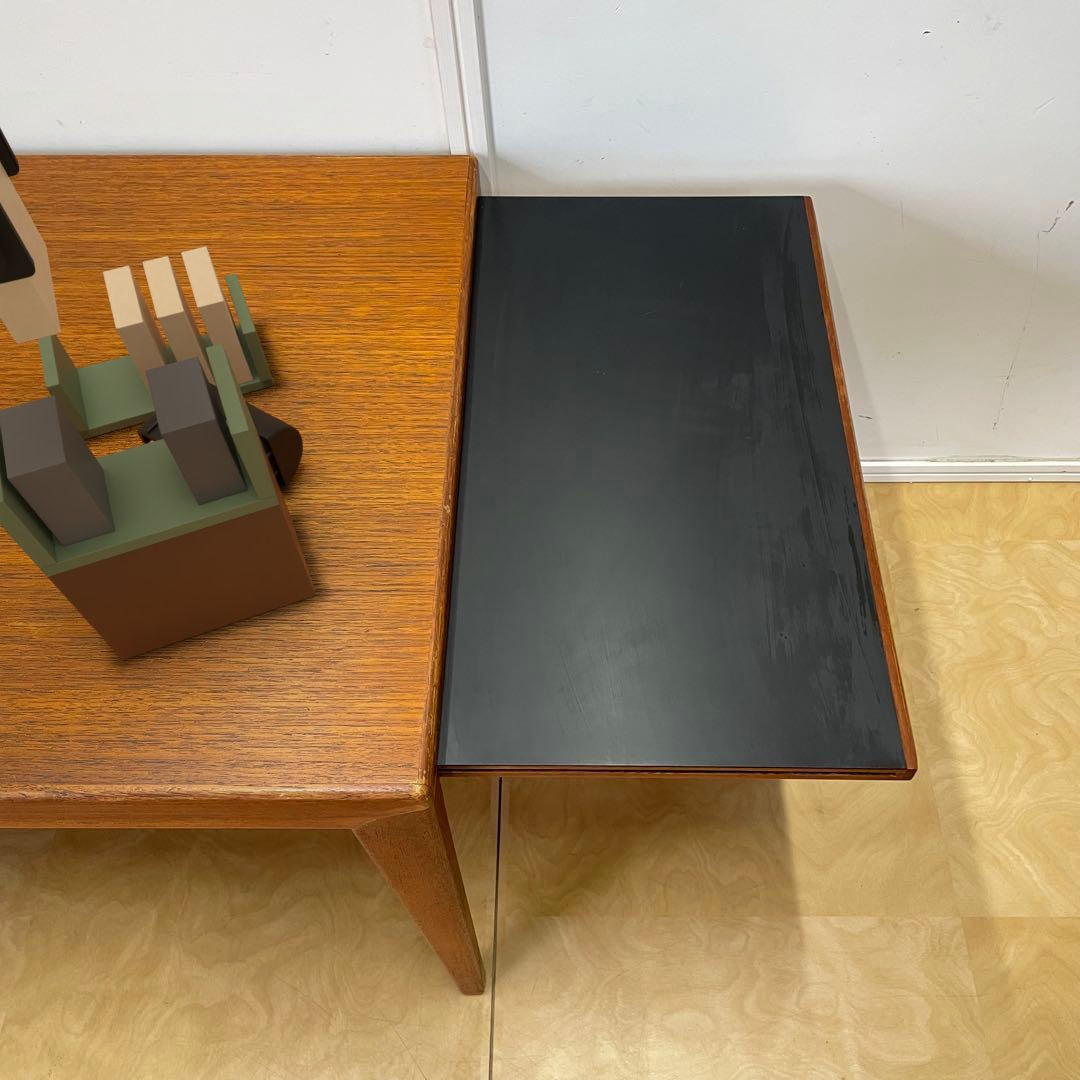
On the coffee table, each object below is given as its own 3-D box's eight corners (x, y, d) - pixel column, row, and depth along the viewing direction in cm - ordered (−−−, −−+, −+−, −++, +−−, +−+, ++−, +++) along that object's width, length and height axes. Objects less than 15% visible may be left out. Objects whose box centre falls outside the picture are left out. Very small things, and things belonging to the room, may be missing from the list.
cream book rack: (81, 440, 75) (24, 355, 66) (69, 379, 78) (14, 291, 70) (274, 385, 78) (244, 297, 70) (255, 329, 81) (224, 239, 73)
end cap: (312, 465, 74) (294, 411, 68) (254, 529, 70) (230, 477, 65) (217, 414, 76) (192, 358, 71) (157, 473, 73) (126, 419, 67)
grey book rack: (122, 660, 65) (-22, 501, 48) (107, 580, 68) (-33, 404, 51) (316, 595, 68) (246, 423, 51) (292, 521, 71) (219, 337, 54)
